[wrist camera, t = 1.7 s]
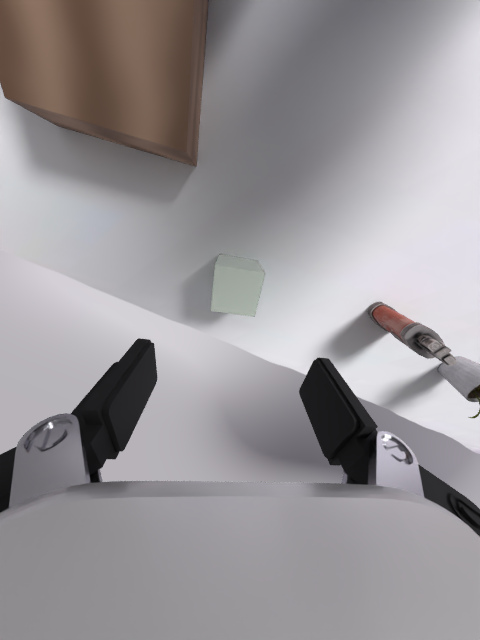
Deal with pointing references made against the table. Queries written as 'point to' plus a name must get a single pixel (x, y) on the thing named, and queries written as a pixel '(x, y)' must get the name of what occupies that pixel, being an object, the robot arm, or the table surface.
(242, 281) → the sage box
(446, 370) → the house plant
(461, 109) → the table surface
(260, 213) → the table surface
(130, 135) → the walnut block
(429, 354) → the lighter
